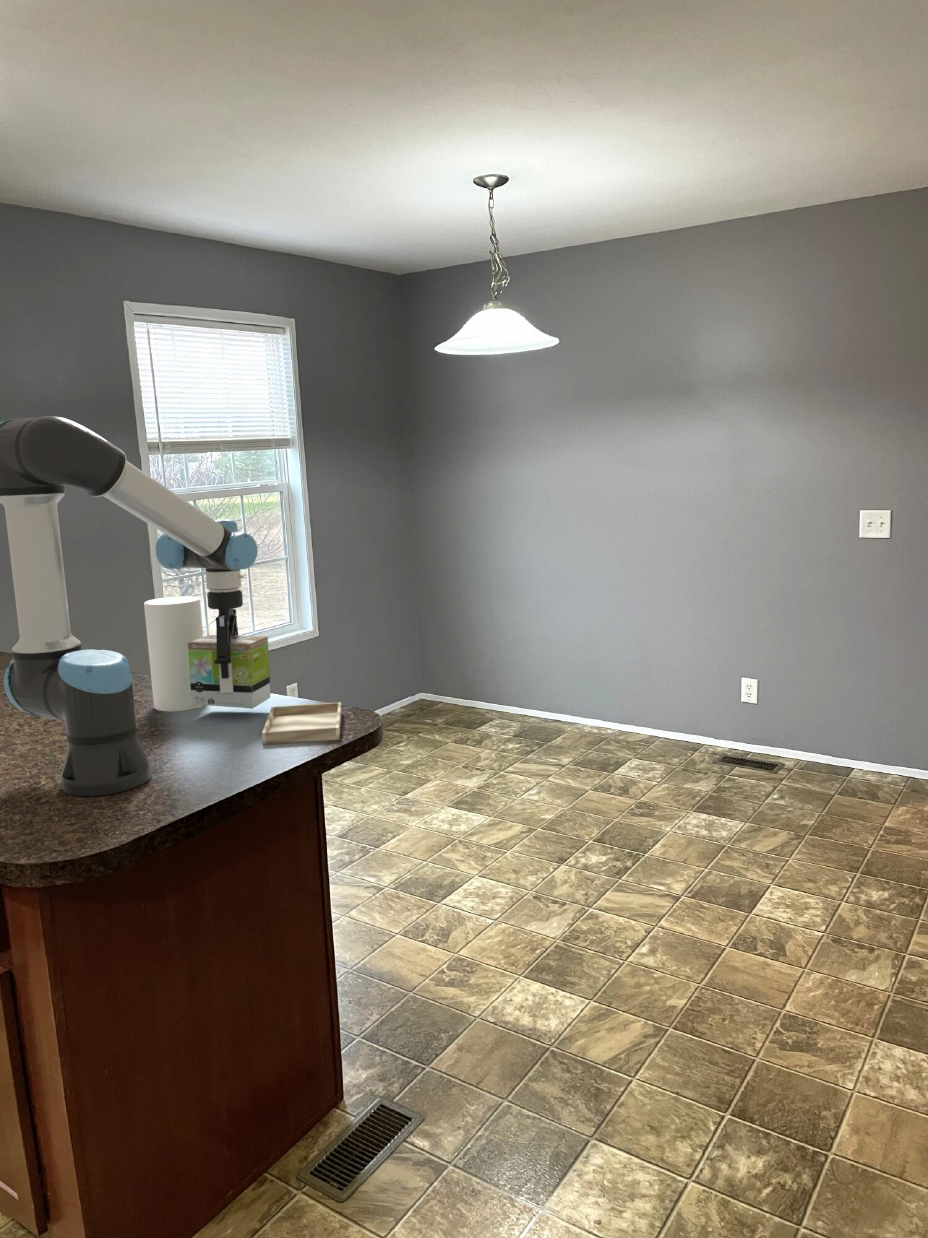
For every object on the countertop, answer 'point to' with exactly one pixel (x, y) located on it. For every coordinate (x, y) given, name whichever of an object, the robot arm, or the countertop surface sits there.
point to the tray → (303, 723)
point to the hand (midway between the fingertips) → (230, 686)
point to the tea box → (246, 672)
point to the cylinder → (172, 649)
